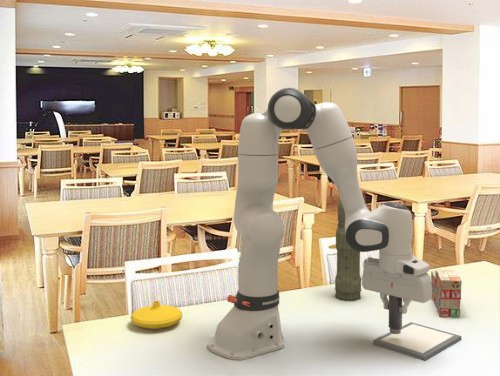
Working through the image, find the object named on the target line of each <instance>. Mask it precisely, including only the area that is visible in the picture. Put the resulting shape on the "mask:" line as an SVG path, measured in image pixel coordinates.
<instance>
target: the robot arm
mask: <svg viewBox="0 0 500 376" xmlns="http://www.w3.org/2000/svg"><path fill="white" fill-rule="evenodd" d="M287 130H288V131H291V130H293V131H295V130H303V131H305V132H306V134H307V136H308V138H309V141H310V142H311V146H312V149H313V151H314V155H315V157H316V159H317V162H318V164H319V165H320V167H321V169H322V171H323V172H324V174H326V175H327V176H328V177H329V179H331V180H332V182H333V183H334V185H335V187H336V190H337V193H338V196H339V198H340V199H341V202H342V205H343V208H344V212H345V218H344V231H345V236H346V241H347V243H348V244H349V246H350V247H351V248H352V249H354V250H356V251H359V252H360V253H365V252H366V253H368V252H373V251H374V252H375V251H379V252H378V255H379V256H378V257H379V258H375V257H371V256H370V257H367V258H365V259H364V261H363V271H362V276H361V287H362V288H363V289H364V290H367V291H370V292H375V293H379V297H380V300H381V302H382V303H383V309H384V310H386V311H389V295H392V296H395V297H399V298H402V306H400V307H399V313H402V315H406V314H407V313H408V307H409V305H410V303H412V302H417V303H420V304H424V303H427V302H429V301H430V300H432V284H431V275H430V274H429V273H428V272H429V271H430V270H431V267H430V264H429V263H428V262H425V261H423V260H422V259H419V258H418V257H417V256H415V255H414V254H413V252H414V251H413V248H412V240H413V237H414V233H413V232H414V231H413V230H414V227H413V226H414V225H413V216H412V212H411V210H410V209H409V208H408V207H406V205H403V204H400V203H396V202H395V203H394V202H384V203H382V204H381V205H380V206H378V207H377V208H375V209H372V210H371V209H369V207H368V206H367V203H366V201H365V199H364V197H363V196H364V195H363V192H362V190H361V189H362V188H361V186H360V184H359V180H358V174H357V173H358V172H357V171H358V170H357V169H358V162H359V161H358V153H357V148H356V147H357V146H356V144H355V140H354V136H353V134H352V131H351V128H350V126H349V124H348V121H347V119H346V117H345V115H344V113H343V111H342V109H341V108H340V106H339V105H338V104H336V103H335V102H329V101H326V102H325V101H324V102H320V103H314V102H313V101H312V100H310V99H309V98H308V97H307V95H306V94H305V93H304V92H303V91H301V90H300V89H298V88H293V87H284V88H281V89H279V90H277V91H276V92H275V93H274V94H272V96H271V97H270V99H269V100H268V104H267V107H266V110H265V111H263V112H253V113H250V114H249V115H246V116H245V117H244V118H243V119H242V121H241V125H240V128H239V133H238V134H239V135H238V136H239V137H238V144H237V145H238V146H237V147H238V148H237V187H236V193H235V200H234V201H235V202H234V213H233V224H234V228H235V230H236V231H237V232H238V234H239V235H240V237H241V249H240V257H239V261H238V264H237V267H238V268H237V269H238V270H237V271H238V273H237V274H238V275H237V276H238V277H237V279H238V280H237V282H238V283H237V284H238V290H237V291H236V295H234V296H233V295H232V294H229V295H228V296H227V297H226V300H227V302H228V303H231V304H233V306H232V308H231V309H230V310H229V311H228V312H227V314H226V315H225V316H224V317H223V318H222V319H221V320H220V322H218V324H217V325H216V329H215V336H214V338H213V339H211V340H210V341H207V343H206V348H207V349H208V350H209V351H211V352H212V353H214V354H215V355H218V356H221V357H223V358H226V359H230V360H237V361H238V360H239V361H240V360H241V361H242V360H245V359H248V358H252V357H256V356H260V355H263V354H267V353H270V352H274V351H279V350H282V349H284V348H285V342H284V340H285V339H284V335H283V331H282V325H281V324H282V323H281V317H280V311H279V305H280V299H281V298H280V297H281V296H280V290H279V289H278V279H279V276H278V272H279V269H278V268H279V265H278V264H279V258H280V252H281V245H282V240H283V238H284V235H285V227H284V223H283V220H282V218H281V215H279V214H278V213H277V212H276V210H274V199H275V193H276V188H277V186H278V183H279V141H280V136H281V134H282V132H283V131H287ZM340 199H339V200H340ZM391 283H393V287H392V288H391Z"/></svg>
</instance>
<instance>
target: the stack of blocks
mask: <svg viewBox="0 0 500 376" xmlns="http://www.w3.org/2000/svg"><path fill="white" fill-rule="evenodd" d="M430 272H431V273H430V278H431V284H432V297H431V300H432V302H433V305H434V306H435V309H436V312H437V314H438V317H439V318H455V319H456V318H457V319H460V318H461V299H462V298H461V297H462V283H463V282H462V279H461V277H460V275H458V273H457V272H456V270H455V269H435V270H431V271H430Z"/></svg>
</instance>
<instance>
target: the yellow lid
mask: <svg viewBox="0 0 500 376" xmlns="http://www.w3.org/2000/svg"><path fill="white" fill-rule="evenodd" d="M182 317H183V312H182V311H181V309H180V308H178V307H177V306H173V305H166V304H165V305H164V304H161V302H160V301H159V300H157V301H153V302H152V305H148V306H143V307H140V308H137V309H136V310H134V311H133V312H132V314H131V315H130V320H131V323H132V324H133V325H134V326H138V327H141V328H143V329H148V330H158V329H165V328H170V327H171V326H174V325H175V324H177V323H179V322H180V321H181V320H182Z"/></svg>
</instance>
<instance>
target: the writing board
mask: <svg viewBox="0 0 500 376" xmlns="http://www.w3.org/2000/svg"><path fill="white" fill-rule="evenodd" d="M461 340H462V335H459V334H455V333H452V332H449V331H448V332H447V331H444V330H442V329H441V330H440V329H436V328H433V327H430V326H427V325H426V326H425V325H422V324H419V323H415V322H409V323H406V324H404V325H402V328H401V333H400V334H392V333H390V331H389V332H387V333H385V334H383V335H381V336H379V337H377V338H376V339H375V338H374V339H373V340H372V344H373V345H375V346H379V347H381V348H385V349H388V350H391V351H393V352H394V351H395V352H398V353H400V354H402V355H403V354H404V355H406V356H410V357H413V358H415V359H419V360H421V361H427V360H428V359H431V358H432V357H434V356H436V355H437V354H439V353H441V352H442V351H444V350H446V349H448V348H450V347H452V346H453V345H455V344H456V343H458V342H460V341H461ZM447 347H448V348H447Z"/></svg>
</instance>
